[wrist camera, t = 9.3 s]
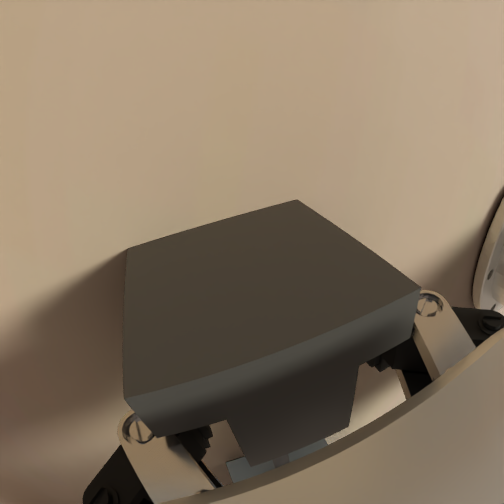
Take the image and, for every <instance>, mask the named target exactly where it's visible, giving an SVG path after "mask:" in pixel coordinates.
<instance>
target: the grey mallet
mask: <svg viewBox="0 0 504 504" xmlns="http://www.w3.org/2000/svg"><path fill="white" fill-rule="evenodd" d="M420 291H421V287H420V286H418V285H417V284H416V283H415V282H413V281H412V280H411V279H409V278H408V277H407V276H405V275H404V274H403V273H401V272H400V271H399V270H397V269H396V268H395V267H393V266H392V265H391V264H389V263H388V262H387V261H385V260H384V259H383V258H381V257H380V256H378V255H377V254H376V253H374V252H373V251H372V250H370V249H369V248H367V247H366V246H365V245H363V244H362V243H360V242H359V241H358V240H356V239H355V238H353V237H352V236H350V235H349V234H348V233H346V232H345V231H343V230H342V229H340V228H339V227H337V226H336V225H334V224H333V223H332V222H330V221H329V220H327V219H326V218H324V217H323V216H321V215H320V214H318V213H317V212H315V211H314V210H312V209H311V208H309V207H308V206H306V205H305V204H303V203H302V202H300V201H299V200H294V201H290V202H286V203H282V204H279V205H275V206H271V207H268V208H264V209H260V210H257V211H253V212H249V213H246V214H242V215H239V216H235V217H232V218H228V219H224V220H221V221H218V222H214V223H211V224H207V225H204V226H200V227H197V228H194V229H190V230H187V231H183V232H180V233H177V234H174V235H170V236H167V237H164V238H160V239H157V240H154V241H151V242H147V243H144V244H141V245H138V246H135V247H132V248H128V249H127V261H126V273H125V288H124V309H123V389H124V399H125V401H126V402H127V403H128V405H129V406H130V407H131V408H132V410H133V411H134V412H135V413H136V414H137V416H138V417H139V418H140V419H141V420H142V422H143V423H144V424H145V425H146V426H147V427H148V429H149V430H150V431H151V432H152V433H153V434H154V435H155V437H156V438H160V437H165V436H169V435H173V434H177V433H181V432H185V431H189V430H192V429H196V428H200V427H203V426H207V425H210V424H213V423H217V422H220V421H223V420H227V422H228V424H229V426H230V428H231V430H232V432H233V434H234V436H235V438H236V440H237V442H238V444H239V446H240V448H241V449H242V451H243V453H244V455H245V457H242V458H239V459H236V460H233V461H230V462H226V465H227V468H228V470H229V473H230V476H231V479H232V482H233V483H236V482H239V481H242V480H245V479H248V478H251V477H253V476H256V475H259V474H262V473H265V472H267V471H270V470H272V469H275V468H278V467H280V466H283V465H285V464H287V463H290V462H292V461H295V460H297V459H299V458H301V457H304V456H306V455H308V454H310V453H313V452H315V451H317V450H319V449H321V448H323V447H325V446H327V445H328V444H327V442H326V441H325V439H324V438H326V437H328V436H330V435H332V434H334V433H336V432H339V431H341V430H343V429H345V428H347V427H349V422H350V417H351V411H352V406H353V400H354V394H355V388H356V382H357V375H358V369H359V365H361V364H363V363H365V362H367V361H369V360H371V359H373V358H375V357H377V356H379V355H380V354H382V353H384V352H386V351H388V350H390V349H391V348H393V347H395V346H397V345H399V344H400V343H402V342H404V341H406V340H407V339H409V338H410V336H411V332H412V328H413V324H414V319H415V315H416V310H417V306H418V301H419V296H420Z"/></svg>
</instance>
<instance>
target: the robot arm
mask: <svg viewBox="0 0 504 504" xmlns="http://www.w3.org/2000/svg"><path fill="white" fill-rule="evenodd" d="M473 303H474V306H475V308H476V309H472V308H458V307H450V305H449V304H448V302H447V301H446V299H445V298H444V297H443V296H442V295H440V294H439V293H437V292H434V291H431V290H421V291H420V296H419V301H418V306H417V310H416V315H415V319H414V324H413V328H412V332H411V336H410V338H409V339H407V340H406V341H404V342H402V343H400V344H399V345H397V346H395V347H393V348H391V349H390V350H388V351H386V352H384V353H382V354H380V355H379V356H377V357H375V358H373V359H371V360H369V361H367V364H368V365H369V366H371V367H374V366H375V367H376V368H377V369H378V371H379V372H381V371H383V370H385V369H386V368H388V367H391V368H392V369H396V373H397V376H398V378H399V381H400V384H401V387H402V389H403V392H404V395H405V398H406V401H405V402H403V403H401V404H400V405H398V406H397V407H395V408H394V409H392V410H391V411H389V412H387V413H386V414H384V415H382V416H381V417H379V418H377V419H376V420H374V421H372V422H371V423H369V424H367V425H365V426H364V427H362V428H360V429H358V430H356V431H355V432H353V433H351V434H349V435H347V436H345V437H343V438H341V439H339V440H337V441H335V442H333V443H331V444H329V445H327V446H325V447H323V448H321V449H319V450H317V451H315V452H313V453H310V454H308V455H306V456H304V457H301V458H299V459H297V460H295V461H292V462H290V463H287V464H285V465H283V466H280V467H278V468H275V469H272V470H270V471H267V472H265V473H262V474H259V475H256V476H253V477H251V478H248V479H245V480H242V481H239V482H236V483H232V484H229V485H226V486H223V485H222V483H221V482H220V481H219V480H218V479H217V478H216V476H215V475H214V474H213V473H212V472H211V470H210V469H209V468H208V467H207V465H206V464H205V463H204V462H203V460H202V458H203V457H204V455H205V453H206V449H205V448H209V447H210V444H209V440H208V438H211V437H213V434H212V431H211V428H210V425H207V426H203V427H200V428H196V429H192V430H189V431H185V432H181V433H177V434H173V435H169V436H165V437H160V438H156V437H155V435H154V434H153V433H152V432H151V431H150V430H149V429H148V427H147V426H146V425H145V424H144V423H143V422H142V420H141V419H140V418H139V417H138V416H137V414H136V413H135V412H134V411H133V410H130V411H129V412H128V413H126V414H125V415H124V416H123V418H122V419H121V420H120V423H119V425H118V431H117V434H118V438H119V441H120V443H121V445H120V446H119V447H118V449H117V450H116V451H115V452H114V454H113V455H112V456H111V458H110V459H109V460H108V461H107V463H106V464H105V465H104V467H103V468H102V469H101V470H100V472H99V473H98V474H97V475H96V477H95V478H94V479H93V480H92V482H91V483H90V484H89V486H88V487H87V488H86V490H85V492H84V495H83V504H504V316H503V315H502V314H500V313H499V312H497V311H499V310H500V309H501V308H502V307H503V306H504V197H503V199H502V201H501V203H500V205H499V207H498V209H497V212H496V214H495V216H494V219H493V221H492V223H491V226H490V228H489V231H488V234H487V236H486V239H485V242H484V245H483V248H482V251H481V254H480V257H479V261H478V265H477V269H476V273H475V277H474V284H473Z"/></svg>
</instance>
